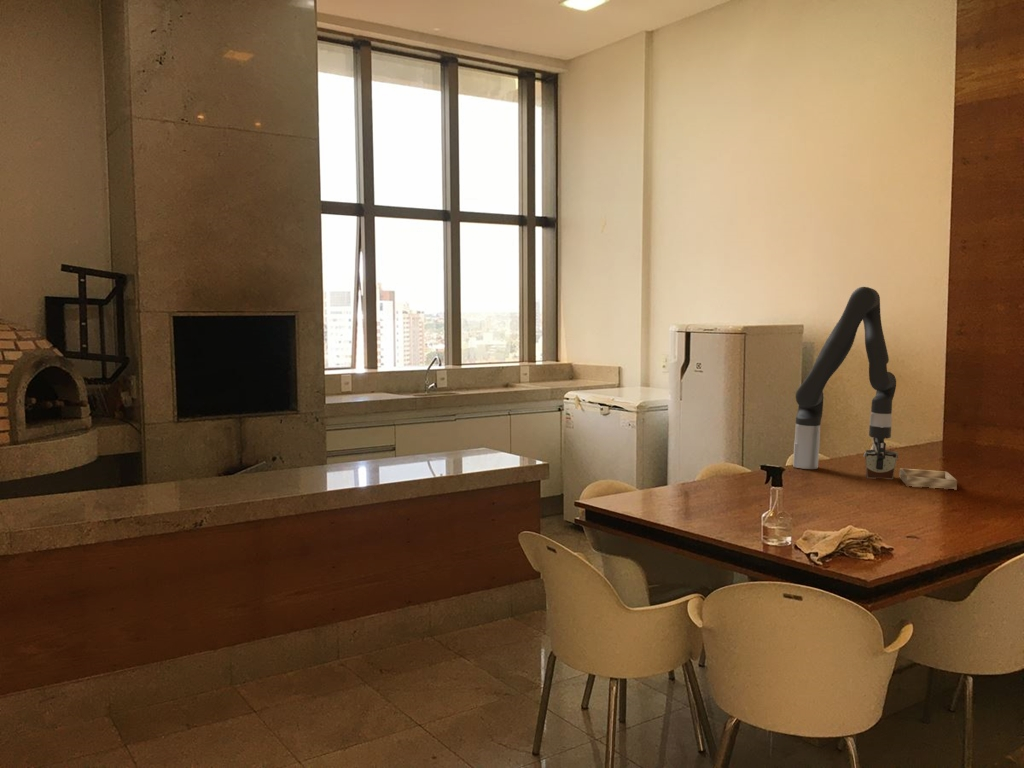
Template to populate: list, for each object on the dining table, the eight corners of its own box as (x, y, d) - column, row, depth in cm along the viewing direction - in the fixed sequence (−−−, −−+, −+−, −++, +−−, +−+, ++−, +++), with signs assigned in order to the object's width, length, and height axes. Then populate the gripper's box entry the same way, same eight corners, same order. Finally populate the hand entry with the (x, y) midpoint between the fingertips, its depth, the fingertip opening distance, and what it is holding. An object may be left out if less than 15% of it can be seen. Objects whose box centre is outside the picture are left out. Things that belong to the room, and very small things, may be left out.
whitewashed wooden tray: (906, 486, 290) (907, 476, 290) (899, 477, 305) (899, 468, 305) (956, 490, 285) (957, 480, 285) (946, 480, 301) (947, 471, 300)
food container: (891, 475, 308) (892, 449, 307) (897, 479, 302) (898, 452, 301) (857, 474, 309) (859, 448, 308) (862, 477, 303) (864, 451, 302)
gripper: (867, 421, 312) (864, 463, 313) (872, 426, 298) (869, 470, 300) (888, 422, 309) (885, 464, 311) (894, 428, 296) (891, 471, 297)
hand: (877, 467), depth 305 cm, fingers open, 8 cm apart
